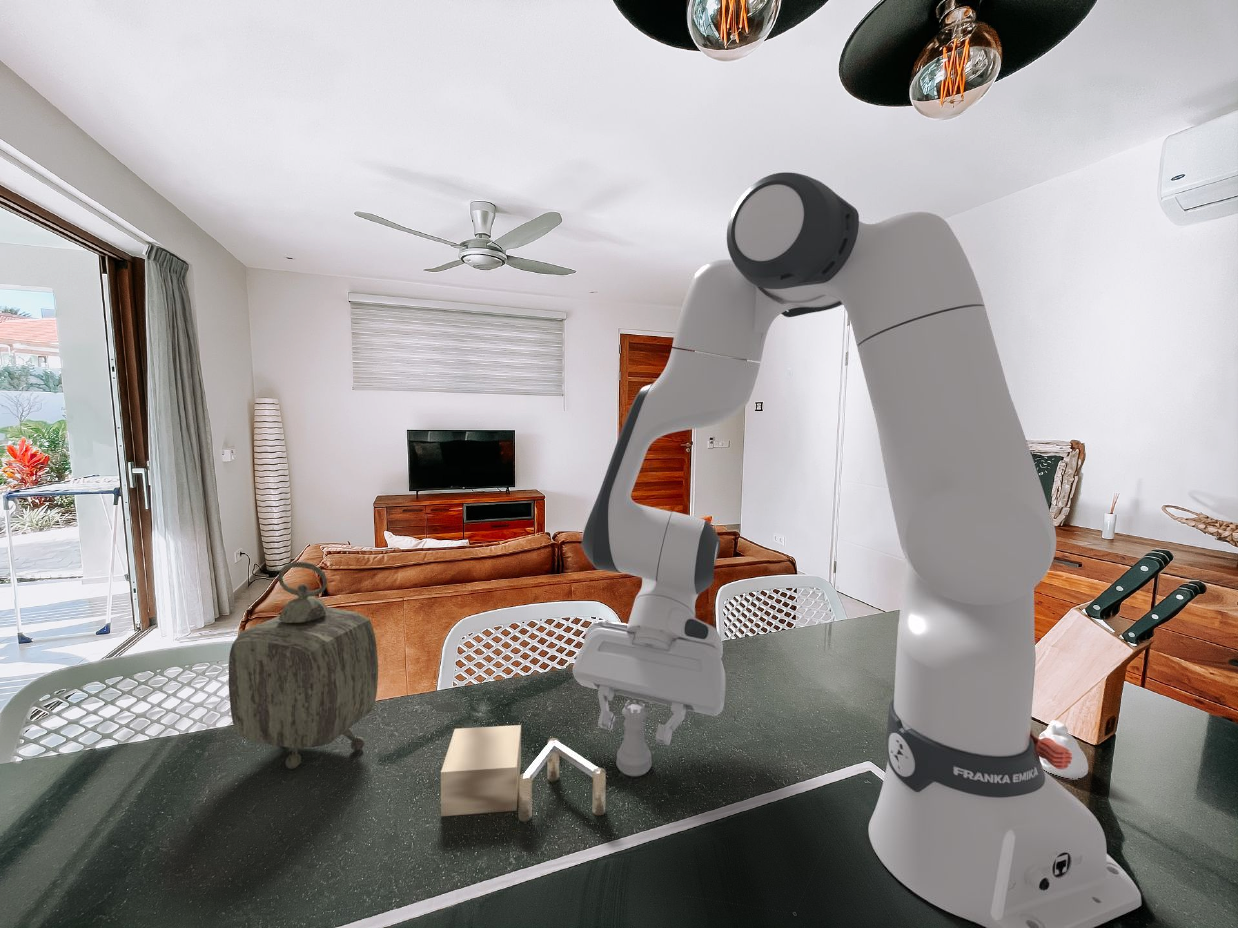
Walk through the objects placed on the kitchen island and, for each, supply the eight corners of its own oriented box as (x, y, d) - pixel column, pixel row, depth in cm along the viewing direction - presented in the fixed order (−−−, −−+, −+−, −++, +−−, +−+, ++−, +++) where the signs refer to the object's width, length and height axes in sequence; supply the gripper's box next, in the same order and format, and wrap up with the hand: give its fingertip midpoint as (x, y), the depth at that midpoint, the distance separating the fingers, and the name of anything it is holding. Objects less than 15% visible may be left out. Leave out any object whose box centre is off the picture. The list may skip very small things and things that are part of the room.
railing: (599, 769, 64) (600, 734, 63) (605, 814, 56) (606, 775, 56) (522, 775, 63) (522, 739, 62) (518, 821, 55) (518, 781, 55)
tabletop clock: (380, 744, 68) (375, 557, 66) (327, 791, 59) (320, 578, 57) (288, 728, 71) (281, 550, 69) (225, 771, 62) (215, 568, 61)
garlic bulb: (1024, 709, 68) (1068, 712, 68) (1020, 752, 69) (1065, 756, 68) (1054, 734, 63) (1103, 737, 62) (1051, 781, 63) (1099, 784, 63)
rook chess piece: (649, 780, 62) (650, 716, 61) (612, 775, 63) (613, 712, 62) (653, 757, 66) (655, 697, 66) (619, 752, 67) (620, 693, 67)
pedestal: (521, 763, 65) (521, 724, 64) (516, 810, 57) (516, 766, 57) (455, 767, 64) (454, 728, 63) (441, 816, 56) (440, 772, 56)
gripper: (585, 607, 74) (550, 707, 65) (729, 631, 66) (709, 748, 58) (598, 627, 78) (566, 723, 70) (734, 651, 70) (717, 763, 62)
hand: (632, 735), depth 64 cm, fingers open, 6 cm apart
